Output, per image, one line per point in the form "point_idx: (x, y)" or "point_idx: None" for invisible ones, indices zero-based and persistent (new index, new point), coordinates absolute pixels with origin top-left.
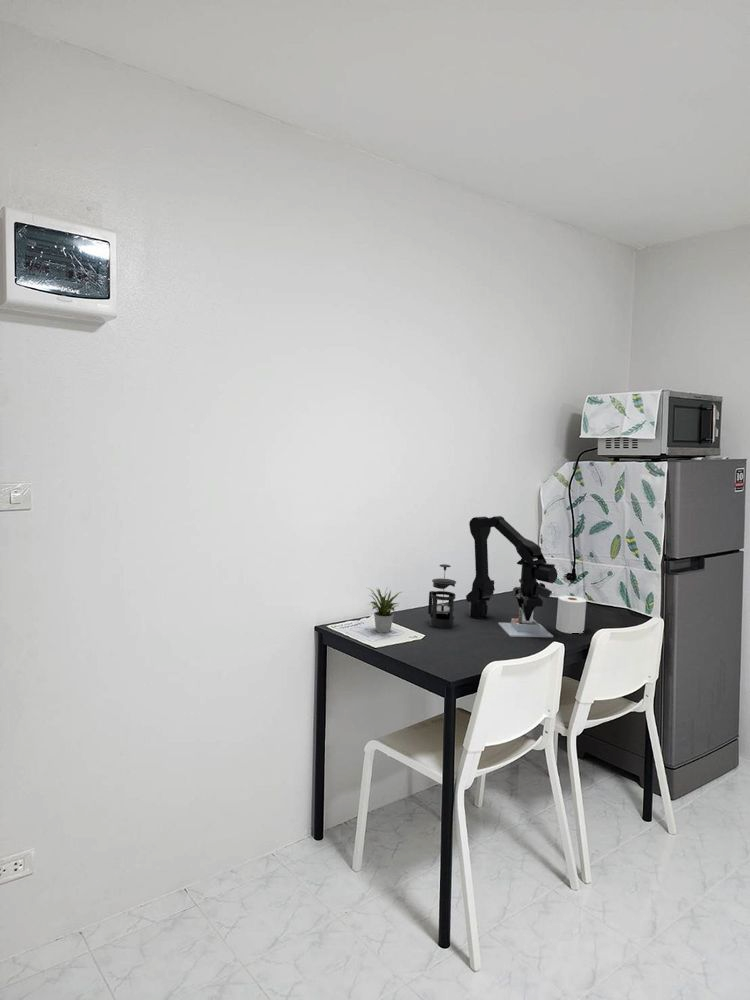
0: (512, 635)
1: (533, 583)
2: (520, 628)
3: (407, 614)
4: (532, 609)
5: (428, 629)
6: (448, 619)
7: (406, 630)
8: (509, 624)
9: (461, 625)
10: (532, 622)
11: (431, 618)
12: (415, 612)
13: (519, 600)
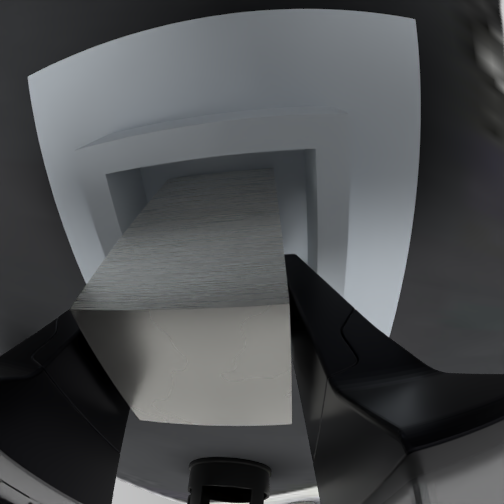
0: (390, 325)
1: None
2: None
3: (152, 483)
4: (396, 367)
5: (282, 482)
6: (197, 472)
7: (295, 494)
8: None
9: (214, 446)
10: (276, 196)
11: (246, 499)
12: (124, 472)
13: (98, 490)
